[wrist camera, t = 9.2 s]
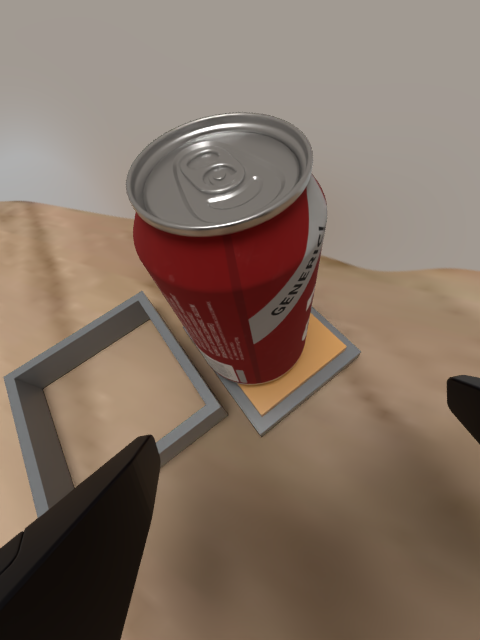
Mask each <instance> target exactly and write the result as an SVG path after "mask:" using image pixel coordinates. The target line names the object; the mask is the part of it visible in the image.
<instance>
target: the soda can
mask: <svg viewBox="0 0 480 640" xmlns="http://www.w3.org/2000/svg"><path fill="white" fill-rule="evenodd" d="M312 165H313V152H312V148H311V145H310V142H309V140H308V139H307V137H306V136H305V135H304V134H303V132H302V131H300V130H299V129H298V128H297V127H295V126H294V125H292V124H291V123H289V122H287V121H285V120H282V119H280V118H276V117H274V116H270V115H265V114H258V113H240V112H239V113H225V114H218V115H213V116H208V117H204V118H200V119H196V120H193V121H190V122H188V123H185V124H183V125H180V126H178V127H176V128H174V129H172V130H170V131H168V132H166V133H164V134H163V135H161V136H160V137H158V138H157V139H155V140H154V141H153V142H151V143H150V144H149V145H148V146H147V147H146V148H145V149H144V150H143V151H142V152H141V153H140V154H139V155H138V156H137V158H136V159H135V160H134V162H133V164H132V165H131V168H130V170H129V172H128V175H127V180H126V190H127V195H128V197H129V200H130V202H131V204H132V206H133V208H134V210H135V211H136V214H135V220H134V227H133V238H134V245H135V248H136V251H137V254H138V256H139V258H140V260H141V262H142V263H143V265H144V266H145V268H146V269H147V271H148V272H149V274H150V275H151V277H152V278H153V280H154V281H155V283H156V285H157V286H158V288H159V289H160V291H161V292H162V294H163V295H164V297H165V298H166V300H167V301H168V303H169V304H170V306H171V307H172V309H173V311H174V312H175V314H176V315H177V317H178V318H179V320H180V321H181V323H182V324H183V326H184V327H185V329H186V330H187V332H188V333H189V335H190V337H191V338H192V340H193V341H194V343H195V344H196V346H197V347H198V349H199V350H200V352H201V353H202V355H203V356H204V358H205V359H206V361H207V362H208V364H209V365H210V367H211V368H212V369H213V370H214V371H215V372H216V373H218V374H219V375H220V376H222V377H223V378H225V379H227V380H229V381H232V382H235V383H239V384H245V385H257V384H263V383H267V382H270V381H273V380H275V379H277V378H279V377H281V376H283V375H284V374H285V373H287V372H288V371H289V370H290V369H291V368H292V367H293V366H294V365H295V364H296V363H297V361H298V360H299V358H300V356H301V354H302V352H303V349H304V346H305V341H306V335H307V329H308V324H309V318H310V313H311V307H312V301H313V296H314V290H315V284H316V279H317V273H318V267H319V262H320V256H321V250H322V245H323V239H324V234H325V228H326V222H327V203H326V199H325V195H324V193H323V191H322V188H321V187H320V185H319V183H318V181H317V180H316V179H315V177H314V176H313V174H312V173H311V172H312Z"/></svg>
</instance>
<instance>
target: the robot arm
mask: <svg viewBox="0 0 480 640" xmlns="http://www.w3.org/2000/svg"><path fill="white" fill-rule="evenodd" d="M447 404H448V407H449V409H450V410H451V412H452V413H453V414H454V415H455V416H456V417H457V419H458V420H459V421H460V422H461V423H462V424H463V426H464V427H465V428H466V429H467V430H468V431H469V433H470V434H471V435H472V436H473V437H474V438H475V439H476V441H477V442H478V443H479V444H480V378H477V377H472V376H467V375H459V376H454V377H450V378H449V379H448V380H447ZM160 465H161V459H160V455H159V452H158V449H157V446H156V442H155V439H154V437H153V436H152V435H145V436H140V437H137V438H136V439H135V440H134V441H132V442H131V443H130V444H129V445H128V446H126V447H125V448H124V449H123V450H121V451H120V452H119V453H118V454H116V455H115V456H114V457H113V458H111V459H110V460H109V461H108V462H107V463H105V464H104V465H103V466H102V467H100V468H99V469H98V470H97V471H95V472H94V473H93V474H92V475H90V476H89V477H88V478H87V479H86V480H84V481H83V482H82V483H81V484H79V485H78V486H77V487H76V488H74V489H73V490H72V491H71V492H70V493H68V494H67V495H66V496H65V497H63V498H62V499H61V500H60V501H58V502H57V503H56V504H55V505H53V506H52V507H51V508H50V509H49V510H47V511H46V512H45V513H44V514H42V515H41V516H40V517H39V518H37V519H36V520H35V521H34V522H33V523H31V524H30V525H29V526H28V527H26V528H25V530H24V532H23V531H22V532H20V533H19V534H18V535H16V536H15V537H14V538H13V539H11V540H10V541H9V542H8V543H7V544H5V545H4V546H3V547H2V548H0V640H120V639H121V635H122V631H123V628H124V624H125V620H126V616H127V612H128V608H129V605H130V601H131V597H132V593H133V589H134V585H135V582H136V578H137V574H138V570H139V566H140V562H141V559H142V555H143V551H144V547H145V543H146V539H147V536H148V532H149V528H150V524H151V520H152V515H153V510H154V504H155V497H156V491H157V484H158V478H159V472H160Z"/></svg>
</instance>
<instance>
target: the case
mask: <svg viewBox="0 0 480 640" xmlns="http://www.w3.org/2000/svg"><path fill="white" fill-rule="evenodd" d="M149 319H151V321H152V322H153V324H154V325H155V327H156V328H157V330H158V331H159V333H160V334H161V336H162V337H163V339H164V341H165V342H166V344H167V345H168V347H169V348H170V350H171V351H172V353H173V354H174V356H175V357H176V359H177V360H178V362H179V364H180V365H181V367H182V368H183V370H184V371H185V373H186V374H187V376H188V377H189V379H190V380H191V382H192V384H193V385H194V387H195V388H196V390H197V391H198V393H199V394H200V396H201V397H202V399H203V400H204V402H205V404H206V405H205V406H204V407H203V408H201V409H200V410H199V411H197V412H196V413H195V414H193V415H192V416H191V417H189V418H188V419H187V420H185V421H184V422H183V423H181V424H180V425H179V426H177V427H176V428H175V429H173V430H172V431H171V432H170V433H168V434H167V435H166V436H164V437H163V438H162V439H160V440H159V441H158V442H156V446H157V449H158V452H159V455H160V459H161V465H160V468H161V467H162V466H163V465H165V464H166V463H167V462H169V461H170V460H171V459H172V458H174V457H175V456H176V455H178V454H179V453H180V452H181V451H183V450H184V449H185V448H187V447H188V446H189V445H190V444H192V443H193V442H194V441H195V440H197V439H198V438H199V437H201V436H202V435H203V434H204V433H206V432H207V431H208V430H210V429H211V428H212V427H213V426H215V425H216V424H217V423H219V422H220V421H221V420H222V419H224V418H225V417H226V416H228V414H227V413H226V411H225V410H224V408H223V407H222V405H221V404H220V403H219V401H218V400H217V398H216V397H215V395H214V394H213V392H212V391H211V389H210V388H209V386H208V385H207V383H206V382H205V380H204V379H203V378H202V376H201V375H200V373H199V372H198V370H197V369H196V367H195V366H194V364H193V363H192V361H191V360H190V358H189V357H188V356H187V354H186V353H185V351H184V350H183V348H182V347H181V345H180V344H179V342H178V341H177V339H176V338H175V336H174V335H173V334H172V332H171V331H170V329H169V328H168V326H167V325H166V323H165V322H164V320H163V319H162V317H161V316H160V314H159V313H158V312H157V310H156V309H155V307H154V306H153V305H152V303H151V302H150V301H149V299H148V298H147V297H146V295H145V294H144V293H143V291H141V292H139V293H138V294H136V295H135V296H133V297H131V298H130V299H128V300H126V301H125V302H123V303H122V304H120V305H118V306H117V307H115V308H114V309H112V310H110V311H109V312H107V313H106V314H104V315H102V316H101V317H99V318H98V319H96V320H94V321H93V322H91V323H90V324H88V325H86V326H85V327H83V328H82V329H80V330H78V331H77V332H75V333H74V334H72V335H70V336H69V337H67V338H65V339H64V340H62V341H61V342H59V343H57V344H56V345H54V346H53V347H51V348H49V349H48V350H46V351H45V352H43V353H41V354H40V355H38V356H37V357H35V358H33V359H32V360H30V361H29V362H27V363H25V364H24V365H22V366H21V367H19V368H17V369H16V370H14V371H13V372H11V373H9V374H8V375H6V376H4V381H5V385H6V389H7V393H8V397H9V401H10V406H11V410H12V414H13V418H14V422H15V426H16V430H17V434H18V438H19V443H20V447H21V451H22V455H23V459H24V463H25V467H26V471H27V475H28V480H29V484H30V488H31V492H32V496H33V500H34V504H35V508H36V512H37V516H38V518H39V517H40V516H41V515H42V514H44V513H45V512H46V511H47V510H49V509H50V508H51V507H52V506H53V505H55V504H56V503H57V502H58V501H60V500H61V499H62V498H63V497H65V496H66V495H67V494H68V493H70V492H71V491H72V490H73V489H74V486H73V483H72V480H71V477H70V474H69V470H68V467H67V464H66V461H65V458H64V455H63V452H62V449H61V445H60V442H59V439H58V436H57V433H56V430H55V427H54V424H53V420H52V417H51V414H50V411H49V408H48V405H47V402H46V399H45V396H44V392H43V388H44V387H46V386H47V385H49V384H50V383H52V382H54V381H55V380H57V379H58V378H60V377H61V376H63V375H64V374H66V373H67V372H69V371H70V370H72V369H74V368H75V367H77V366H78V365H80V364H81V363H83V362H84V361H86V360H87V359H89V358H90V357H92V356H94V355H95V354H97V353H98V352H100V351H101V350H103V349H104V348H106V347H107V346H109V345H110V344H112V343H114V342H115V341H117V340H118V339H120V338H121V337H123V336H124V335H126V334H127V333H129V332H130V331H132V330H134V329H135V328H137V327H138V326H140V325H141V324H143V323H144V322H146V321H147V320H149Z"/></svg>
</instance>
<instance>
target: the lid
mask: <svg viewBox="0 0 480 640" xmlns="http://www.w3.org/2000/svg"><path fill="white" fill-rule="evenodd" d="M183 328H184V330H185V331H186V333H187V334H188V335H189V333H188V332H187V330H186V329H185V327H183ZM189 337H190V335H189ZM190 338H191V337H190ZM191 340H192V338H191ZM192 341H193V340H192ZM193 342H194V341H193ZM194 344H195V343H194ZM195 345H196V344H195ZM196 347H197V346H196ZM197 348H198V347H197ZM199 351H200V350H199ZM360 353H361V351H360V350H359V349H358V348H357V347H356V346H355V345H353V344H352V343H351V342H350V341H349V340H348V339H347V338H346V337H345V336H344V335H342V334H341V333H340V332H339V331H338V330H337V329H336V328H335V327H334V326H333V325H332V324H330V323H329V322H328V321H327V320H326V319H325V318H324V317H323V316H322V315H321V314H320V313H318V312H317V311H316V310H315V309H314V308H313V307H311V313H310V318H309V324H308V329H307V335H306V341H305V346H304V349H303V352H302V354H301V356H300V358H299V360H298V361H297V363H296V364H295V365H294V366H293V367H292V368H291V369H290V370H289V371H288V372H287V373H285V374H284V375H283V376H281V377H279V378H277V379H275V380H273V381H270V382H267V383H263V384H257V385H245V384H239V383H235V382H232V381H229V380H227V379H225V378H223V377H222V376H220V375H219V374H218V373H216V372H215V371H214V372H215V373H216V375H217V376H218V377H219V379H220V380H221V381H222V383H223V384H224V386H225V387H226V388H227V390H228V391H229V393H230V394H231V395H232V397H233V398H234V400H235V401H236V402H237V404H238V405H239V407H240V408H241V409H242V411H243V412H244V414H245V415H246V416H247V418H248V419H249V421H250V422H251V423H252V425H253V426H254V428H255V429H256V430H257V432H258V433H259V434H260V436H261V437H262V436H263V435H264V434H265V433H267V432H268V431H269V430H270V429H271V428H273V427H274V426H275V425H276V424H278V423H279V422H280V421H281V420H282V419H284V418H285V417H286V416H287V415H288V414H290V413H291V412H292V411H293V410H295V409H296V408H297V407H298V406H299V405H301V404H302V403H303V402H304V401H305V400H307V399H308V398H309V397H310V396H312V395H313V394H314V393H315V392H316V391H318V390H319V389H320V388H321V387H322V386H324V385H325V384H326V383H327V382H329V381H330V380H331V379H332V378H333V377H335V376H336V375H337V374H338V373H339V372H341V371H342V370H343V369H344V368H346V367H347V366H348V365H349V364H350V363H352V362H353V361H354V360H355V359H356V358H358V356H359V355H360ZM201 354H202V353H201Z"/></svg>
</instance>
